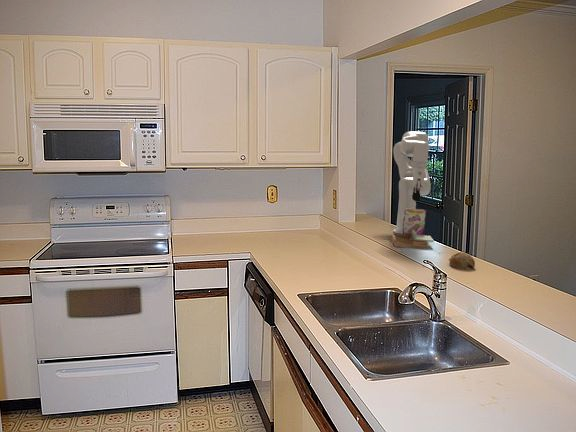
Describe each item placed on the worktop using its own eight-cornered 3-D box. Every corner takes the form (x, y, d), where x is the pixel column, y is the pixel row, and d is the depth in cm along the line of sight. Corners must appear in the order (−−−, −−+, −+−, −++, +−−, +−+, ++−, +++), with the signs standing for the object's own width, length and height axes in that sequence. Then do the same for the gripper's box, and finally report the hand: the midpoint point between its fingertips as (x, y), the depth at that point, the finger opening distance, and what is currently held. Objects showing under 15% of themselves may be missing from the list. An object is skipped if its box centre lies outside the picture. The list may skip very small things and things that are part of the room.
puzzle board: (391, 239, 284) (392, 233, 283) (422, 242, 282) (423, 235, 282) (394, 246, 266) (394, 238, 266) (427, 249, 264) (428, 241, 264)
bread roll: (458, 277, 224) (466, 262, 221) (442, 262, 232) (450, 247, 228) (473, 276, 230) (482, 261, 226) (457, 261, 237) (465, 246, 233)
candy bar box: (401, 239, 286) (404, 209, 283) (400, 238, 291) (403, 208, 288) (423, 241, 285) (426, 210, 282) (422, 240, 290) (425, 209, 287)
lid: (411, 235, 280) (411, 229, 280) (429, 237, 279) (430, 230, 279) (413, 240, 267) (414, 233, 266) (433, 242, 266) (434, 235, 265)
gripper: (428, 166, 273) (425, 202, 276) (424, 165, 290) (421, 199, 293) (413, 165, 274) (410, 201, 277) (410, 164, 291) (407, 198, 293)
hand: (415, 199), depth 285 cm, fingers open, 4 cm apart
